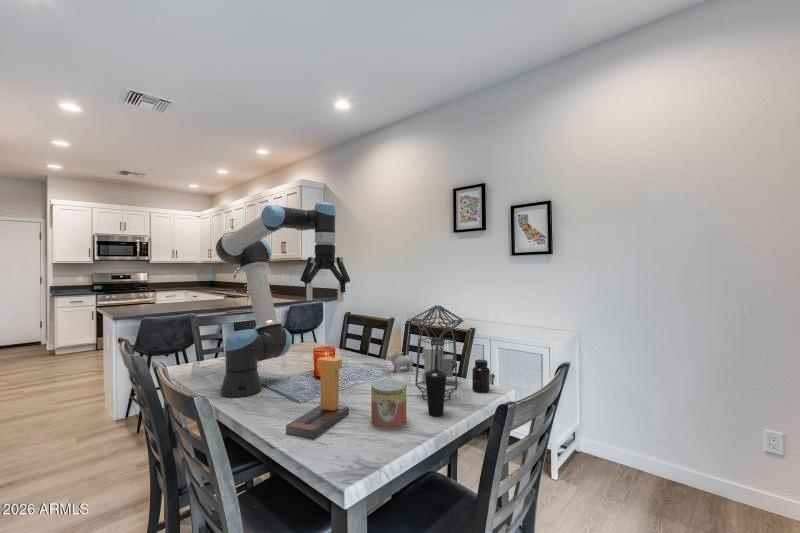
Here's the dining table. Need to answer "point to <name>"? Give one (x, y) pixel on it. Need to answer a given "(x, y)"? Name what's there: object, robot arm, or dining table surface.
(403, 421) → the canned food
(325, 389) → the handle
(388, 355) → the dog figurine
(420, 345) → the geometric lantern
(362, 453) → the dining table surface
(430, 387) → the drinking cup
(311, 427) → the switch plate
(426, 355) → the circuit breaker
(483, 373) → the supplement bottle
